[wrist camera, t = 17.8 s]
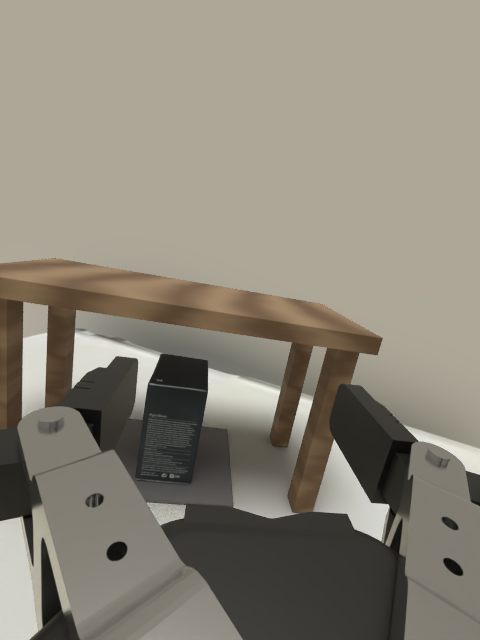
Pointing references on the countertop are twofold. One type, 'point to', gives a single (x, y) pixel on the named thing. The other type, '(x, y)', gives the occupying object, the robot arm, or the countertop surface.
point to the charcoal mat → (208, 471)
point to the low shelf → (192, 311)
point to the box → (172, 420)
